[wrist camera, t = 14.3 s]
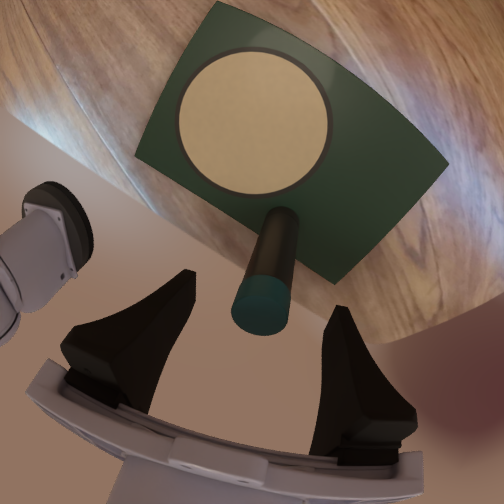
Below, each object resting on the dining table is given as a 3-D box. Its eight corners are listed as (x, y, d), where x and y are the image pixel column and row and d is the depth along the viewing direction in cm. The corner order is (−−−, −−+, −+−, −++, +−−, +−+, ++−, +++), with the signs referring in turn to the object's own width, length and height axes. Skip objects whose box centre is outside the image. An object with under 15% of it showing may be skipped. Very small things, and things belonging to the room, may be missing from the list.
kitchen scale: (444, 160, 16) (450, 164, 16) (334, 278, 24) (334, 286, 23) (221, 3, 14) (216, 0, 13) (140, 153, 21) (133, 156, 20)
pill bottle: (295, 240, 22) (280, 341, 14) (261, 233, 22) (228, 328, 14) (303, 210, 20) (293, 303, 12) (267, 201, 20) (233, 289, 12)
